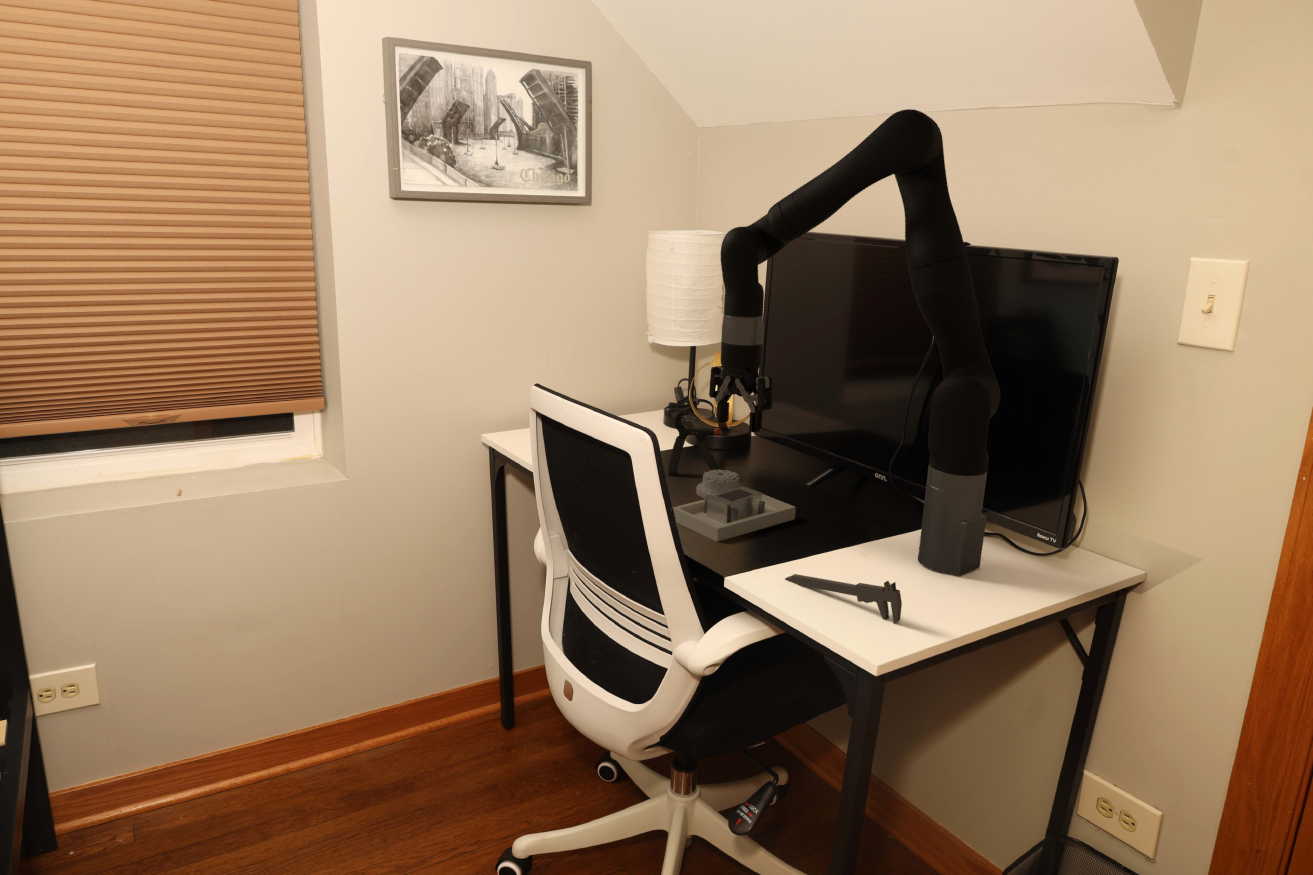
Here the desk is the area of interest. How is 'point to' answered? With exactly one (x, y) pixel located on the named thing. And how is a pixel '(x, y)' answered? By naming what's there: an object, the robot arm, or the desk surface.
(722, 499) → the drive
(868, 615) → the desk surface
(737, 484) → the mechanical component
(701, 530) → the pin tray
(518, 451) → the desk surface
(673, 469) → the hand grip strengthener
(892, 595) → the caliper
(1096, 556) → the desk surface
